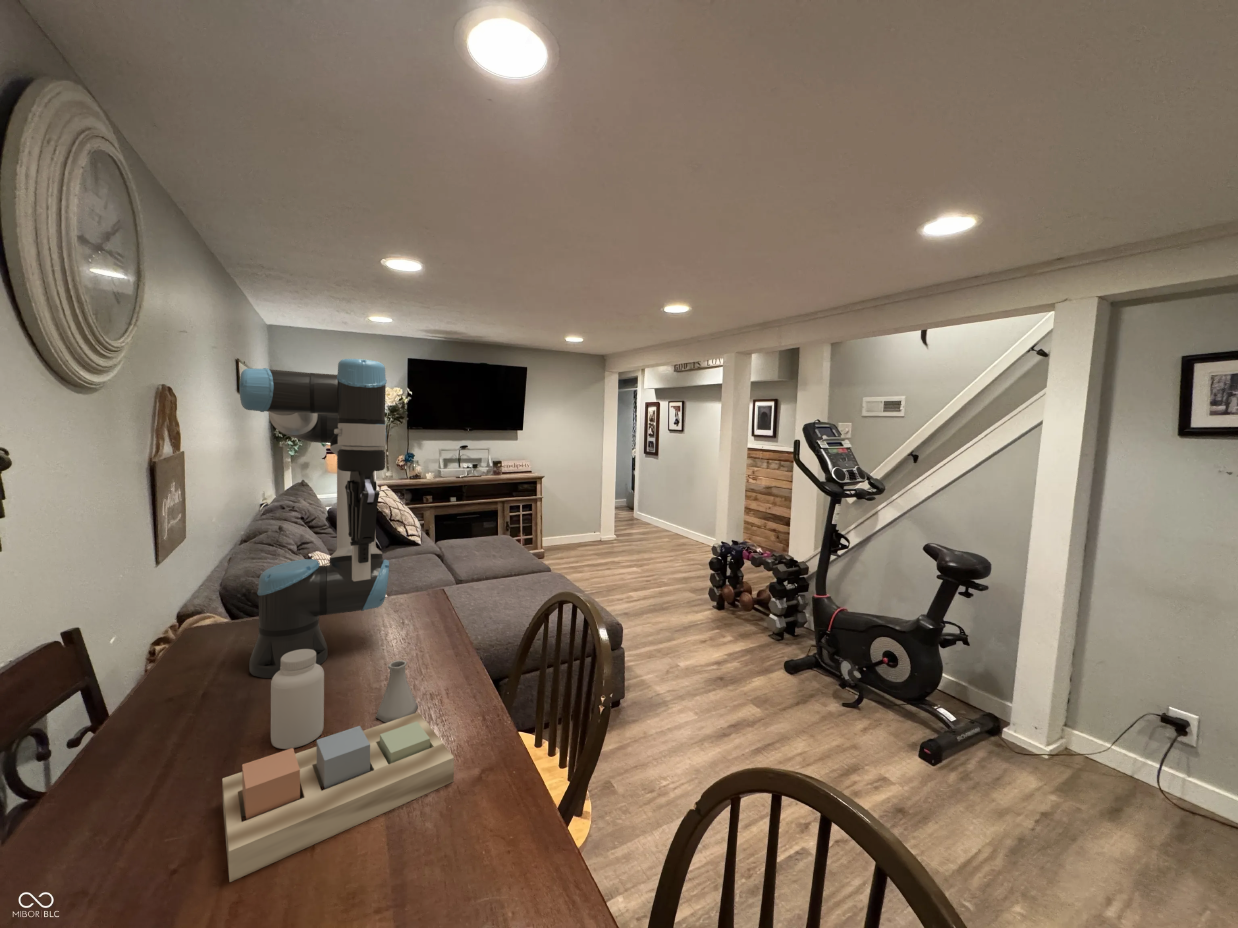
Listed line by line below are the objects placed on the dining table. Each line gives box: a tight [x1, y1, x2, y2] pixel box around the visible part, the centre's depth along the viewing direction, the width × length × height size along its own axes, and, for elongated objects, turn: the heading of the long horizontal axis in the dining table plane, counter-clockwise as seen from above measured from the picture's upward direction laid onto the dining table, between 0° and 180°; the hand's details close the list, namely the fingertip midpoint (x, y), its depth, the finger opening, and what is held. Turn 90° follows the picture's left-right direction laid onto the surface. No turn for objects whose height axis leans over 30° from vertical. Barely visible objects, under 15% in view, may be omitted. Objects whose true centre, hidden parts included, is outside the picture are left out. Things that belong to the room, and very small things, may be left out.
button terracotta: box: [241, 748, 300, 820], centre depth 69 cm, size 6×6×4 cm
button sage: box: [380, 722, 430, 764], centre depth 81 cm, size 6×6×4 cm
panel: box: [221, 711, 455, 883], centre depth 75 cm, size 16×28×4 cm, turn 131°
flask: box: [375, 659, 419, 723], centre depth 96 cm, size 7×7×10 cm
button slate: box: [316, 725, 370, 789], centre depth 74 cm, size 6×6×4 cm
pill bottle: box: [270, 649, 325, 750], centre depth 87 cm, size 8×8×15 cm
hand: (361, 578), depth 88 cm, fingers closed
